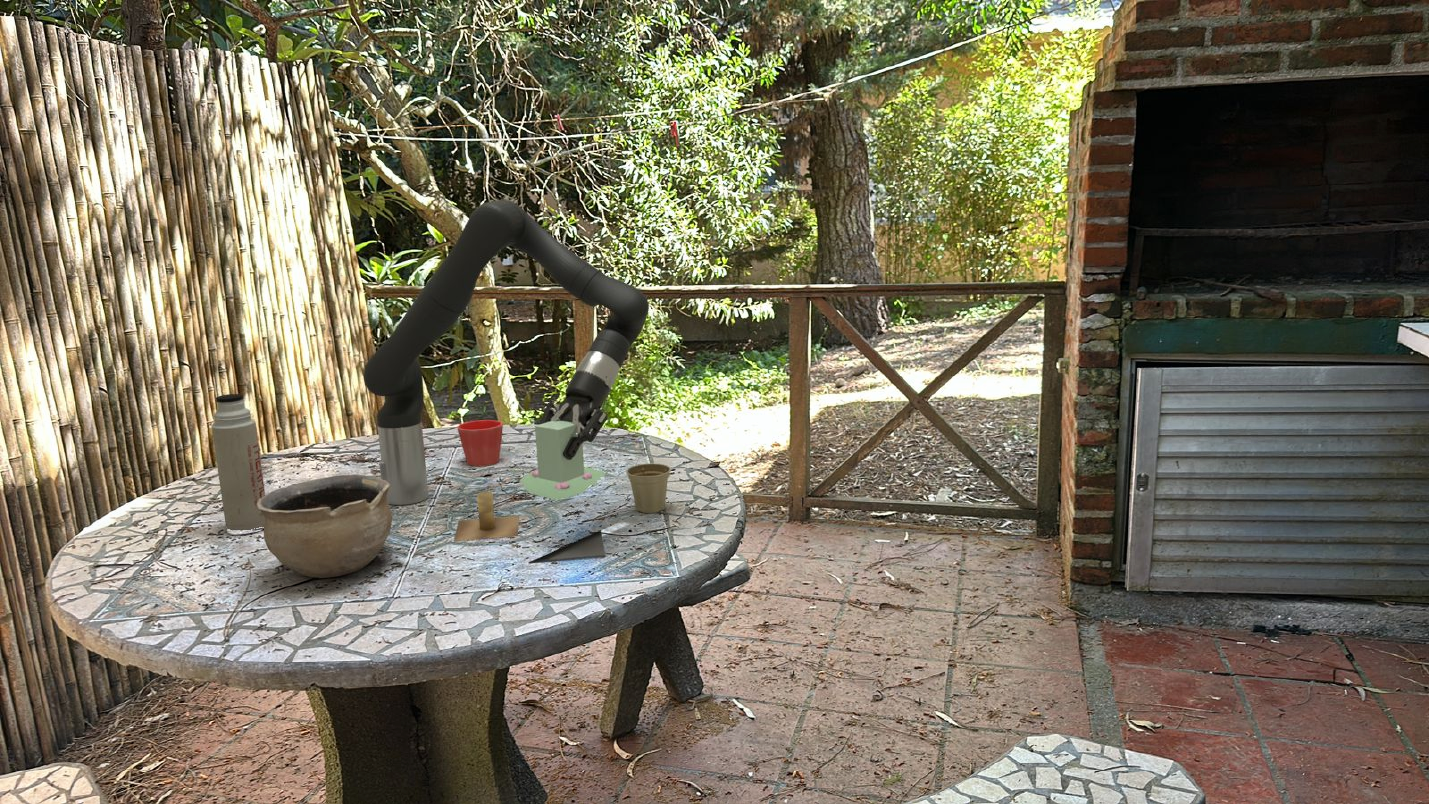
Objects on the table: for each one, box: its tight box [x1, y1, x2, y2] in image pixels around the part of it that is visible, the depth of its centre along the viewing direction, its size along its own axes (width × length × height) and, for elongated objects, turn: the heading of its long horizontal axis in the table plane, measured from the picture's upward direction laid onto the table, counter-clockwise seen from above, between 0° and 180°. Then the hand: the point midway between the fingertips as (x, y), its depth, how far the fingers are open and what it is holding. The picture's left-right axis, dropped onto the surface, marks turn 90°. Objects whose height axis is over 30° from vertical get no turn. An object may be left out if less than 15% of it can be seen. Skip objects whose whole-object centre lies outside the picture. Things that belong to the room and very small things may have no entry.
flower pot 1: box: [457, 419, 504, 467], centre depth 244 cm, size 11×11×10 cm
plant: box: [519, 466, 606, 501], centre depth 225 cm, size 25×21×9 cm
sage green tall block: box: [534, 419, 585, 483], centre depth 182 cm, size 6×6×10 cm
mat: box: [527, 529, 606, 564], centre depth 187 cm, size 14×14×1 cm
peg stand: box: [453, 491, 520, 542], centre depth 193 cm, size 12×12×8 cm
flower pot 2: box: [625, 462, 672, 514], centre depth 206 cm, size 9×9×9 cm
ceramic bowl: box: [257, 473, 393, 579], centre depth 177 cm, size 22×22×15 cm
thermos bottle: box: [211, 393, 266, 530], centre depth 198 cm, size 8×8×28 cm
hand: (553, 454), depth 181 cm, fingers closed on sage green tall block, 6 cm apart
